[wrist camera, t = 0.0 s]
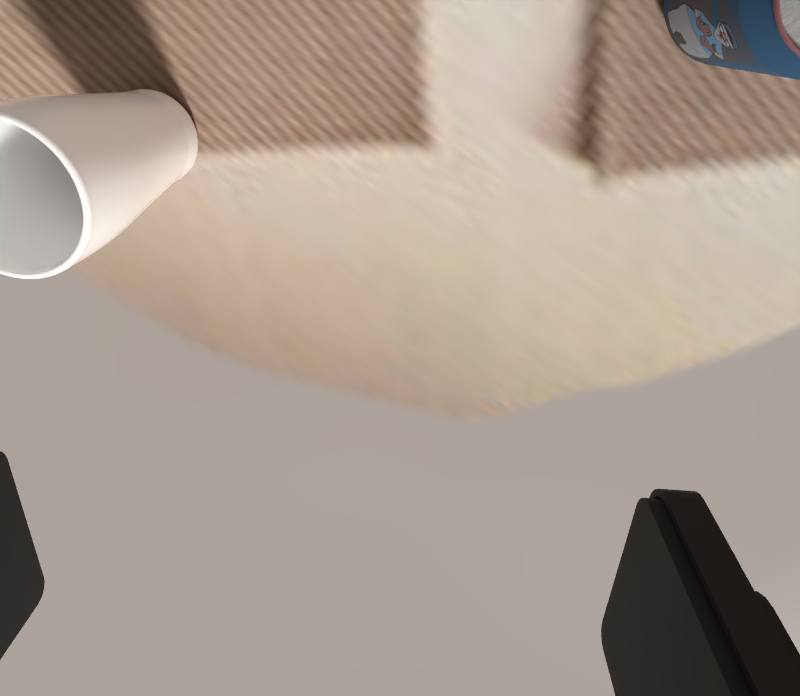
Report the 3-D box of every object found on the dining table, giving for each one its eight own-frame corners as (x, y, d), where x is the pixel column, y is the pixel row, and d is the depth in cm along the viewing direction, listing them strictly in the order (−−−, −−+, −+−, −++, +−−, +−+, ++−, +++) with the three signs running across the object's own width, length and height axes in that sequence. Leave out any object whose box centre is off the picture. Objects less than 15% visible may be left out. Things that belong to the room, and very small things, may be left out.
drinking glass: (161, 213, 40) (22, 312, 26) (77, 123, 37) (-121, 182, 24) (236, 147, 37) (127, 218, 24) (153, 47, 35) (-19, 65, 22)
